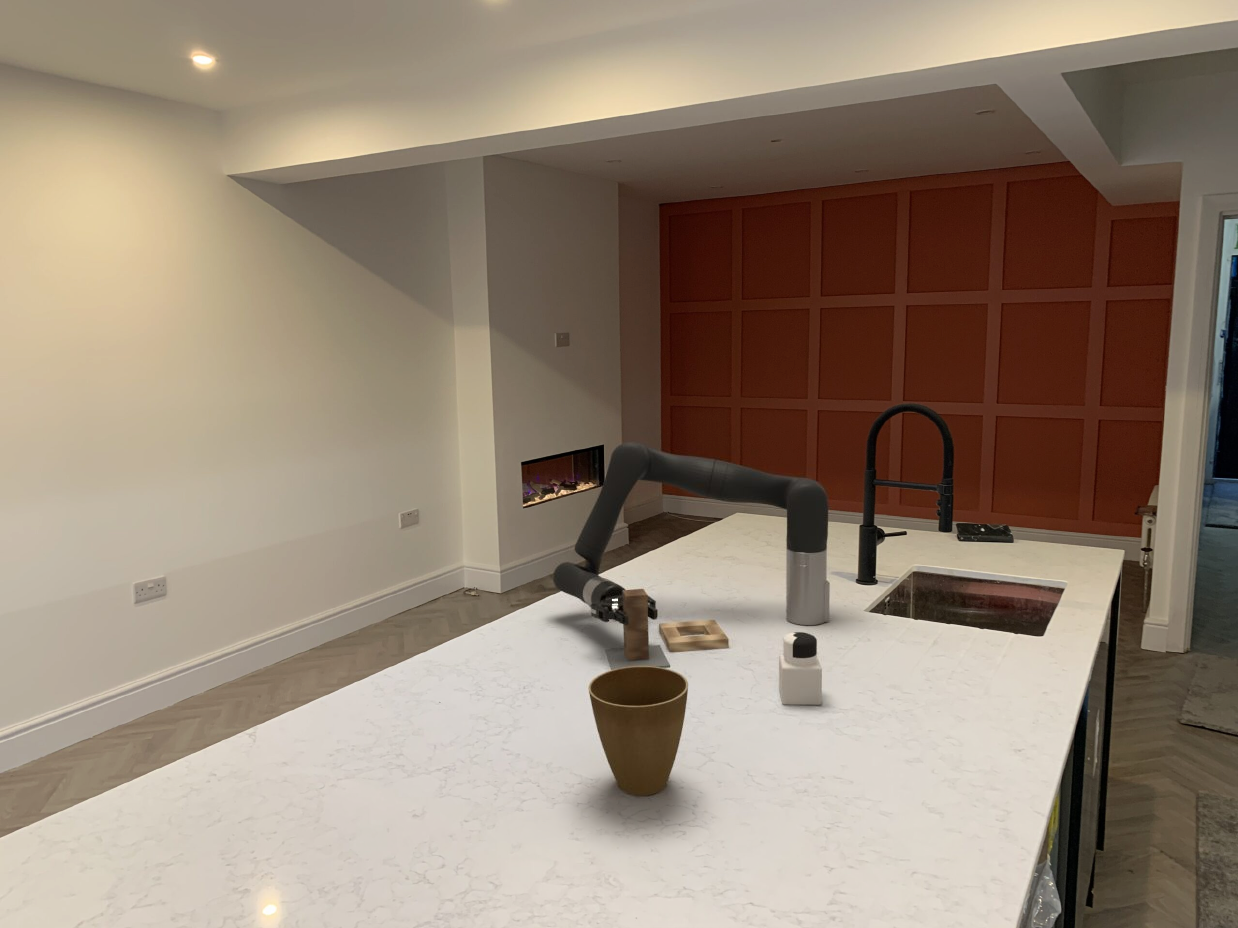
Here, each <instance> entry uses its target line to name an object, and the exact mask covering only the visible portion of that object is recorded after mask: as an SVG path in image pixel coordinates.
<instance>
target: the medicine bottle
mask: <svg viewBox="0 0 1238 928" xmlns="http://www.w3.org/2000/svg"><path fill="white" fill-rule="evenodd" d="M782 646H783V647H782V648H783V649H782V650H783V653H780V654H779V655H778V689H779V691H778V692H779V695H780V699H781V703H782V705H789V706H790V705H792V706H793V705H794V706H795V705H796V706H797V705H798V706H799V705H801V706H821V705H822V703H823V702H822V701H823V700H822V699H823V698H822V697H823V695H822V694H823V693H822V691H823V689H822V688H823V685H822V684H823V668H822V665H821V662H820V660H819V658H818V657H819V656H818V654H817V653H818V652H817V651H818V648H817V647H818V639H817V638H816V637H815V636H814V635H813V634H811V633H808V632H803V631H795V632H790V633H788V634H785V635H784V636H783V645H782Z"/></svg>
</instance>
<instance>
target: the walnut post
mask: <svg viewBox="0 0 1238 928" xmlns="http://www.w3.org/2000/svg"><path fill="white" fill-rule="evenodd" d="M622 595H623V612H624V613H625V614H627V615H628V625H623V624H622V625H623V626H622V627H623V648H624V654H625V656H626V659H627V661H639V660H649V646H650V644H649V637H650V636H649V617H648V598H647V595H648V593H647V592H646V591H645V589H644V588H636V589H635V588H634V589H625V590H622Z"/></svg>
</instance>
